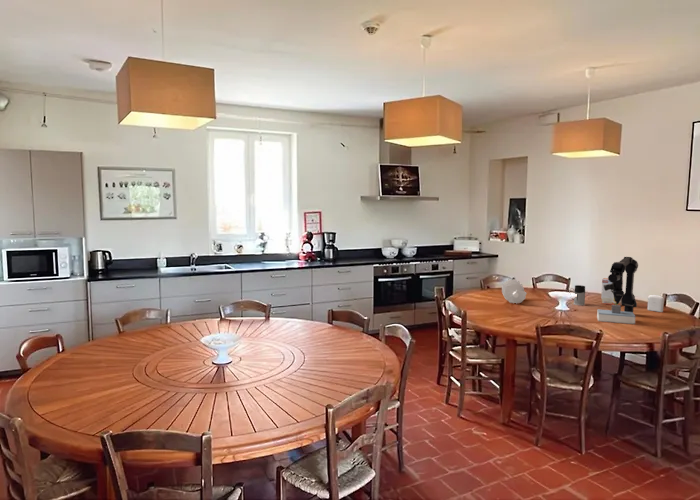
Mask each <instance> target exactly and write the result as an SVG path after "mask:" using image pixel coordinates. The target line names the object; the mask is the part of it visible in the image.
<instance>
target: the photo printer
mask: <svg viewBox="0 0 700 500" xmlns="http://www.w3.org/2000/svg"><path fill="white" fill-rule="evenodd" d="M664 301H665V299H664V297H663V296H661V295H658V294H650V295H648V297H647V311H652V312H658V313H664V304H665V303H664Z"/></svg>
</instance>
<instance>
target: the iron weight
mask: <svg viewBox="0 0 700 500" xmlns="http://www.w3.org/2000/svg"><path fill="white" fill-rule="evenodd" d="M621 307H622V305H621V306H620V305H611V310H612V311H611V312H612V313H617V314H620V313H621V311H622V310H621V309H622V308H621Z"/></svg>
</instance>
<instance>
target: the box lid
mask: <svg viewBox="0 0 700 500" xmlns="http://www.w3.org/2000/svg"><path fill="white" fill-rule="evenodd" d="M596 311H598V313H599V314H603V315H615V316H626V317H635V318H636V315H635V314H634V311H633V312H624V310H623V311H622V310H621V313H620V314H617V313H612V312H611V311H612V309H611V310H610V309H599V308H597V310H596Z"/></svg>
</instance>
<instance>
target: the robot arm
mask: <svg viewBox="0 0 700 500" xmlns="http://www.w3.org/2000/svg"><path fill="white" fill-rule="evenodd" d="M638 268H639V263H638V261H637V260H635V259H634V258H633V257H631V256H624V257H623V258H622V259H621V260H619V261H614V262H613V263H612V264H611V267H610V270H609V273H611V274H609V275H608V276H607V278H608V280H609V281H610V282H612V284H607V285H604V289H605V291H607V290H610V289H611V290H612V291H611V292H612V293H613V295H614V300H615V301H616V304H619V302H620V300H621V302H622V305H621V307H623V308H624V309H623V311H624V312H633V313H634V308H637V306H638V303H637V300H636V296H635V295H634V292H633V291H634V281H635V280H634V279H635V278H634V277H635V273H637V271H638ZM625 272H626V276H625V277H626V278H625V279H626V281H625V292H624V291H623V290H622V284H623V285H624V279H623V278H624V273H625ZM622 281H623V283H622ZM621 298H622V299H621Z"/></svg>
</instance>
